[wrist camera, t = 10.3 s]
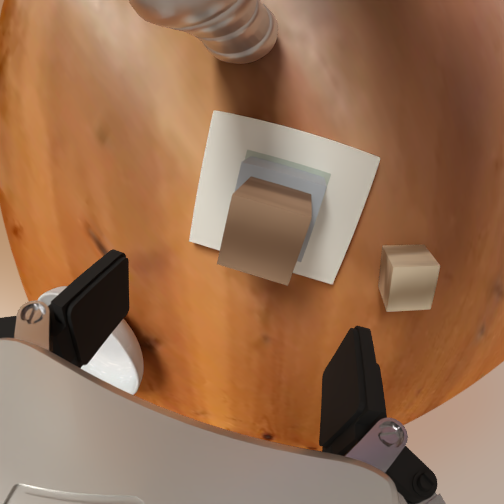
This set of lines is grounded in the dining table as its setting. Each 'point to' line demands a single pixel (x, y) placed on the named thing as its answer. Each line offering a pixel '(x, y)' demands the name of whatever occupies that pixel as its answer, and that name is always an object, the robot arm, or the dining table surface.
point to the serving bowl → (113, 355)
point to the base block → (286, 184)
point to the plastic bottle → (217, 25)
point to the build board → (293, 155)
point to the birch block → (407, 277)
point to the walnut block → (265, 229)
